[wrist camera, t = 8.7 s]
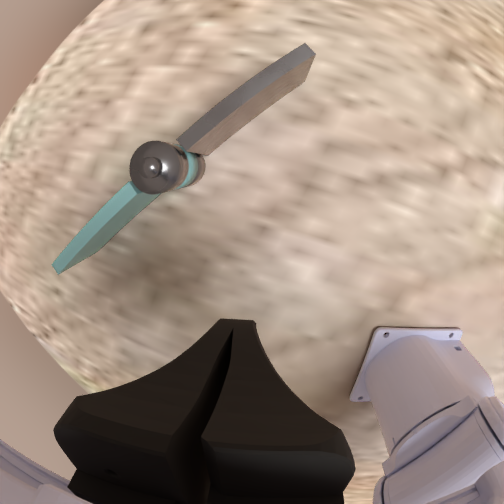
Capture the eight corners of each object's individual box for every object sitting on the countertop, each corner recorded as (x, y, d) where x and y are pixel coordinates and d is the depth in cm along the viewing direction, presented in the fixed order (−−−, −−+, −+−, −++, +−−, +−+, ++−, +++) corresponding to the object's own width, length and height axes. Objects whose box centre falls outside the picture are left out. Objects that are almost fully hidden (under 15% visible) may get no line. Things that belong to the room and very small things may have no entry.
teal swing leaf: (189, 139, 17) (161, 130, 12) (212, 170, 18) (191, 171, 13) (85, 234, 20) (44, 253, 15) (103, 261, 20) (66, 285, 15)
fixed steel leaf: (184, 194, 19) (146, 207, 13) (160, 165, 18) (114, 167, 12) (313, 91, 16) (332, 58, 10) (287, 63, 16) (294, 20, 10)
